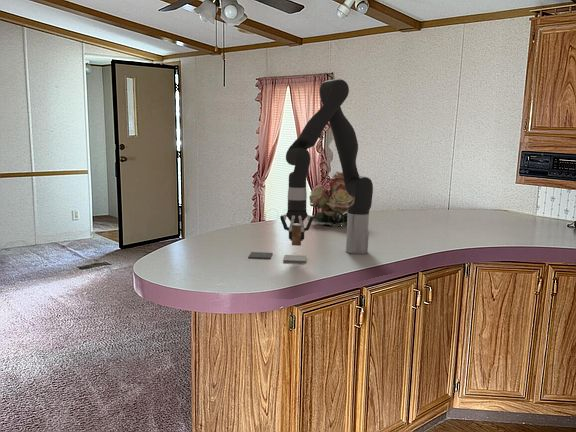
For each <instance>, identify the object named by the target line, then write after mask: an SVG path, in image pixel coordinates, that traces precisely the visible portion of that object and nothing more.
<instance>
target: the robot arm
mask: <svg viewBox="0 0 576 432" xmlns="http://www.w3.org/2000/svg"><path fill="white" fill-rule="evenodd" d="M349 92H350V88H349V84H348V82H347V81H345V80H344V79H337V78H336V79H331V80H330V79H329V80H325V81H323V82H322V83H321V84H320V86H319V96H320V100H321V103H322V105H321V107H320V108H319V109H318V110H317V112H315V114H313V115H312V117H311V118H310V119H309V120H308V121H307V123H306V124H305V125H304V126H303V129H302V131H301V133H300V135H299V136H298V137H297V138H296V139H295V141H293V143H291V145H290V146H289V147H288V149H287V151H286V155H285V161H286V162H287V164H288V165H291V166H294V168H293V171H291V172H290V173H289V175H288V189H287V211H286V213H285V214H281V215H280V217H279V218H280V219H279V220H281V224H282V226H283V229H284V230H285V231H287V232H288V239H289V240H290V241H291V242H292V226H293V224H300V226H301V242H303V240H304V239H305V232H307V231H309V230H310V227H311V225H312V222H313V221H312V220H313V216H314V215H310V214H308V212H307V199H308V195H307V193H308V192H307V176H308V172H309V168H310V165H311V164H310V163H311V154H310V152H309V150H308V149H310V148H313V147H314V146H315V145H316V144H317V142H318V139H319V138H320V136H321V135H322V133H323V131H324V129H325V128H326V126H327V125H328V123H329V126H330V128H331V129H330V130H331V132H332V137H333V140H334V144H335V148H336V151H337V154H338V155H337V156H338V158H339V163H340V166H341V170H342V172H343V178H344V184H345V189H346V191H347V193H348V194H349V195H350V196H353V197H355V200H354V203H353V204H352V205H350V206H349V207H348V218H347V226H346V239H345V240H346V242H345V243H346V244H345V251H346V252H347V253H349V254H355V255H363V254H365V255H366V254H368V252H369V233H370V232H369V224H370V223H369V222H370V221H369V219H370V209H371V208H372V203H373V202H372V201H373V193H374V186H373V182H372V180H371V178H369V177H368V176H362V175H361V176H360V174H359V171H358V167H357V156H358V152H359V141H358V139H357V134H356V131H355V128H354V127H353V125H352V124H351V123H350V121H349V120H348V119H347V117H346V116H345V114H344V111H343V110H342V108H341V106H342V105H343V104H344V102H345V101H346V99H347V98H348V96H349ZM342 172H341V173H342ZM287 219H288V220H289V222H290V223H289V226H288V225H287V222H286V220H287ZM306 219H307V221H308V222H307V224H306V226H305V225H304V221H305V220H306Z"/></svg>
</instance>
